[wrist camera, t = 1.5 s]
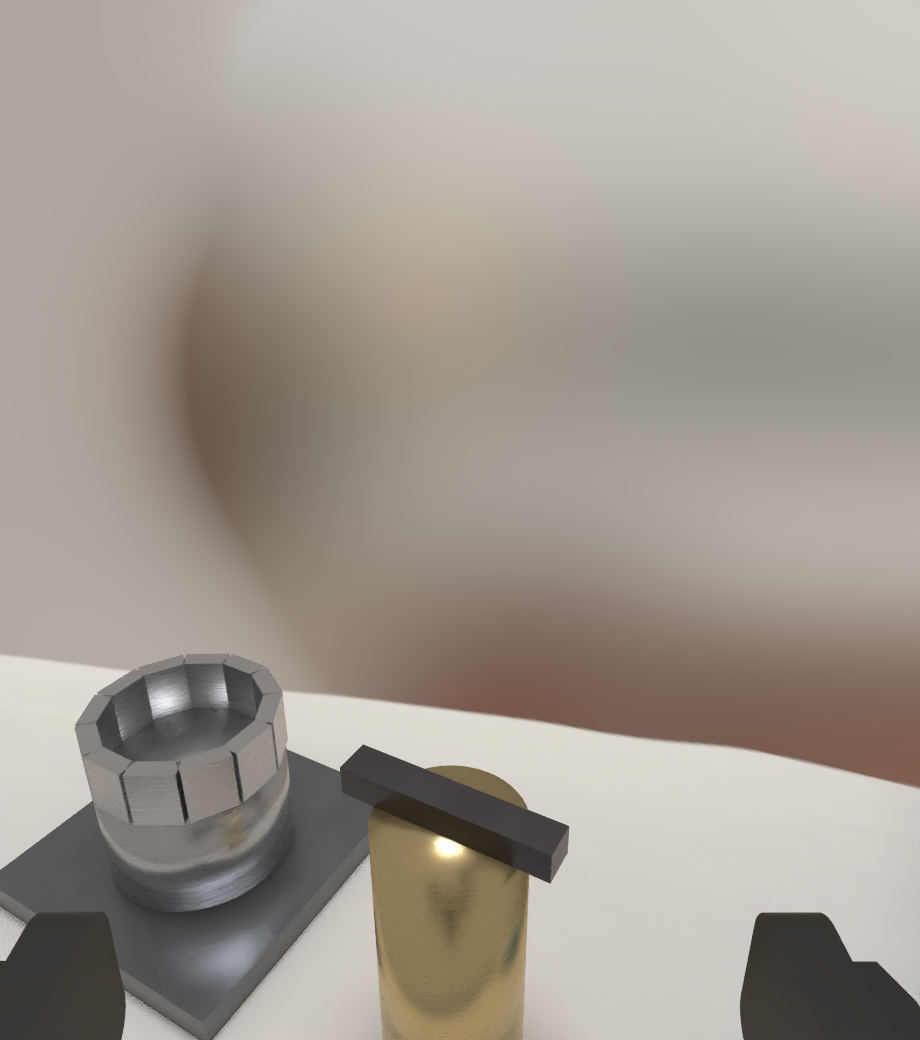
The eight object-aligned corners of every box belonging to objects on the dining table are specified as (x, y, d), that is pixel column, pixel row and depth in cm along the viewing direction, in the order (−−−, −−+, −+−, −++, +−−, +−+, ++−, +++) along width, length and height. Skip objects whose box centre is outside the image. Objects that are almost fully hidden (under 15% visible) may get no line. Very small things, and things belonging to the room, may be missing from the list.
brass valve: (407, 976, 32) (394, 713, 27) (570, 1064, 29) (592, 785, 24) (333, 1086, 29) (301, 805, 23) (512, 1201, 25) (522, 906, 20)
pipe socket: (209, 732, 46) (187, 603, 43) (400, 815, 40) (393, 673, 37) (-8, 900, 36) (-60, 748, 32) (207, 1044, 30) (172, 877, 26)
